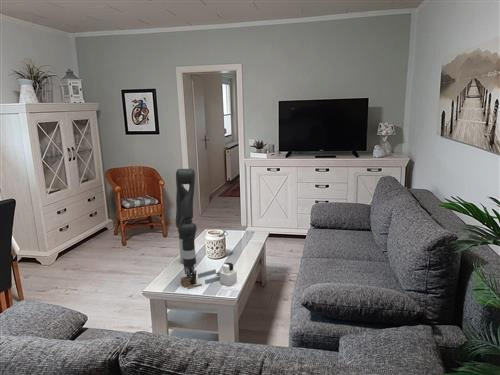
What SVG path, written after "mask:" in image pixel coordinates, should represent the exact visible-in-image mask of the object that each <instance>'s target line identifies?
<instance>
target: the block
mask: <svg viewBox="0 0 500 375" xmlns="http://www.w3.org/2000/svg"><path fill="white" fill-rule="evenodd" d="M191 277H192V276H191ZM194 280H195V284H194V285H198V283H197V282H198V281H197V278H196V279H194ZM180 285H181V286H182V287H183V288H184V289H185V288H187V287H191V286H194V285H191V279H190V276H186V275H185V276H183V277H180Z"/></svg>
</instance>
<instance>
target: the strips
mask: <svg viewBox="0 0 500 375" xmlns="http://www.w3.org/2000/svg"><path fill="white" fill-rule="evenodd" d="M202 286H203V284H202V283H199V284H198V283H197V284H195V285H192V286H189V287H186V289H187V290H190V289H194V288H197V287H202Z"/></svg>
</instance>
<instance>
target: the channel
mask: <svg viewBox="0 0 500 375" xmlns="http://www.w3.org/2000/svg"><path fill="white" fill-rule="evenodd" d="M216 273H217V270H216V268H214V269H210V270H207V271H202V272H198V273H197V278H198V279H201V278H204V277H208V276H212V275H214V274H216ZM219 281H220V276H219V275H217V276H213V277H210V278H206V279H205V280H204V284H206V285H208V284H211V283H215V282H219Z"/></svg>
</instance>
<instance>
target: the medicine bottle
mask: <svg viewBox="0 0 500 375" xmlns="http://www.w3.org/2000/svg"><path fill="white" fill-rule="evenodd" d="M219 272H220V280H219V281H220V284H221V285H225V286H227V287H231V286H232V285H234V284H236V283H238V279H237V278H238V276H237V275H238V274H237V270H234V264H233V263H232V262H225V263H223V264H222V271H219Z"/></svg>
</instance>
